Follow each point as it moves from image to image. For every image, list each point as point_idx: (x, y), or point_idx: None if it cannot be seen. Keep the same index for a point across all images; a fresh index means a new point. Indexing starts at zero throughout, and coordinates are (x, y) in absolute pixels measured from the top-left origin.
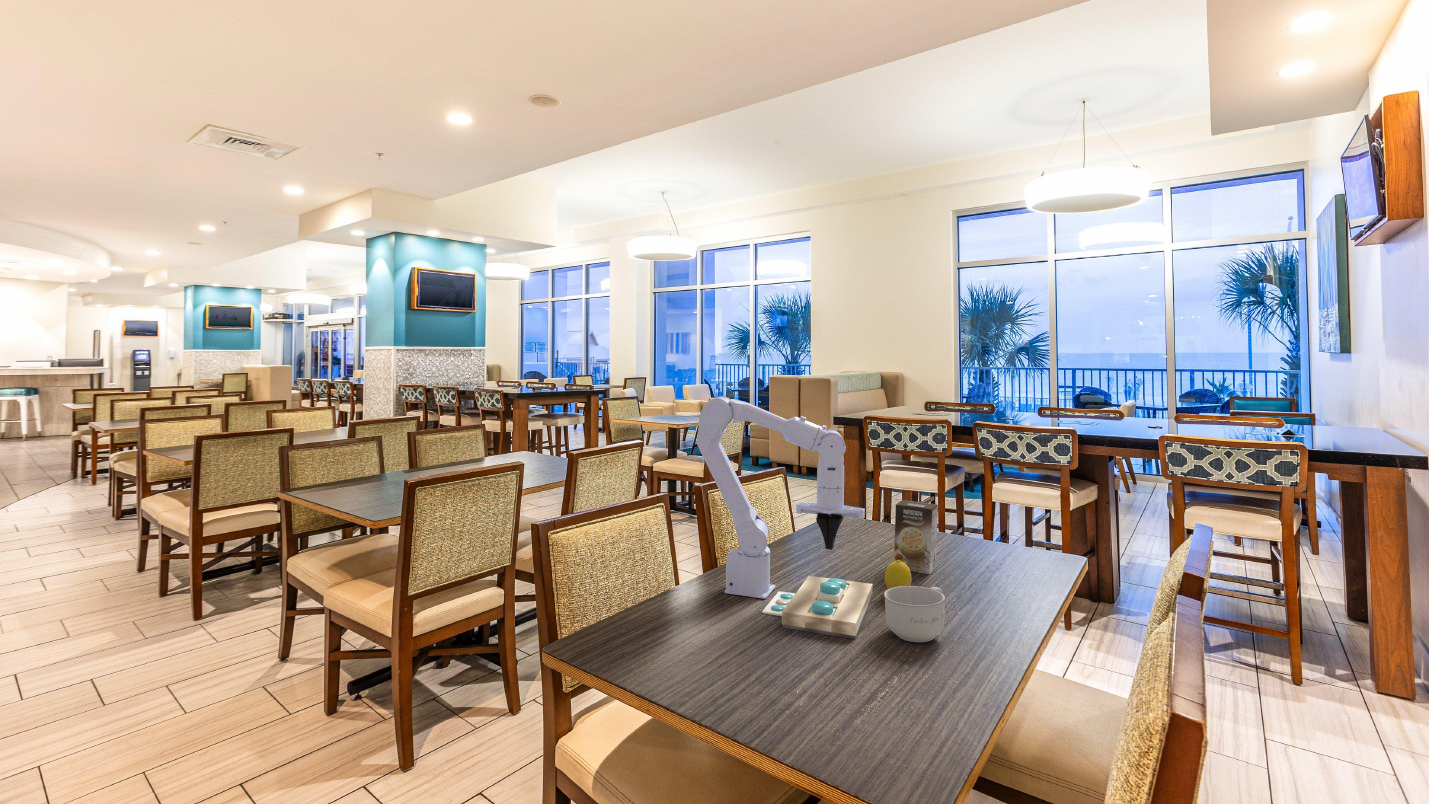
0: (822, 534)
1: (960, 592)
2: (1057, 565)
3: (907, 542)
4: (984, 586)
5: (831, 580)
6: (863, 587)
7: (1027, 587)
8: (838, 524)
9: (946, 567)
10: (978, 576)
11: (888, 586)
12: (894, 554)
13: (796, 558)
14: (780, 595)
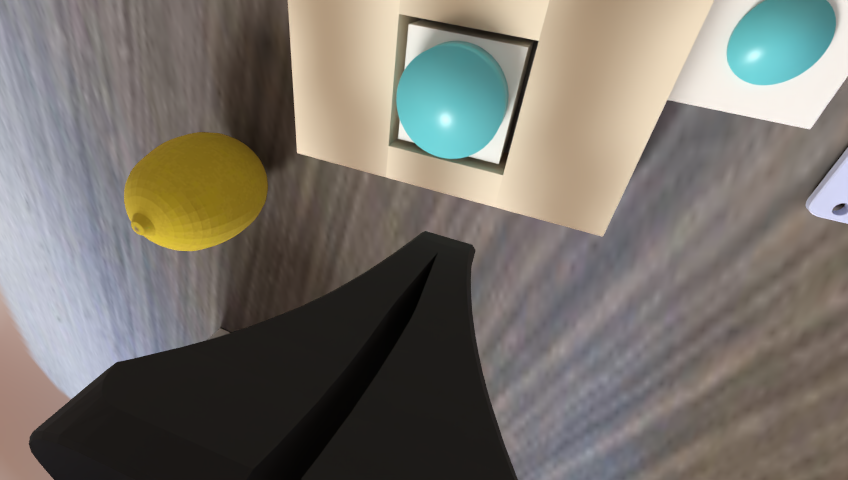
0: (474, 338)
1: (121, 210)
2: (49, 355)
3: None
4: (96, 253)
5: (477, 119)
6: (324, 97)
7: (31, 251)
8: (139, 359)
9: None
10: (129, 312)
11: (248, 156)
12: None
13: (607, 474)
14: (831, 37)
